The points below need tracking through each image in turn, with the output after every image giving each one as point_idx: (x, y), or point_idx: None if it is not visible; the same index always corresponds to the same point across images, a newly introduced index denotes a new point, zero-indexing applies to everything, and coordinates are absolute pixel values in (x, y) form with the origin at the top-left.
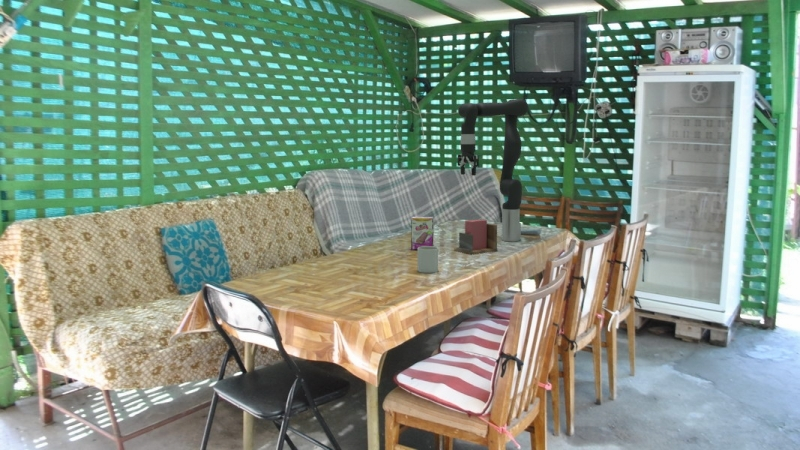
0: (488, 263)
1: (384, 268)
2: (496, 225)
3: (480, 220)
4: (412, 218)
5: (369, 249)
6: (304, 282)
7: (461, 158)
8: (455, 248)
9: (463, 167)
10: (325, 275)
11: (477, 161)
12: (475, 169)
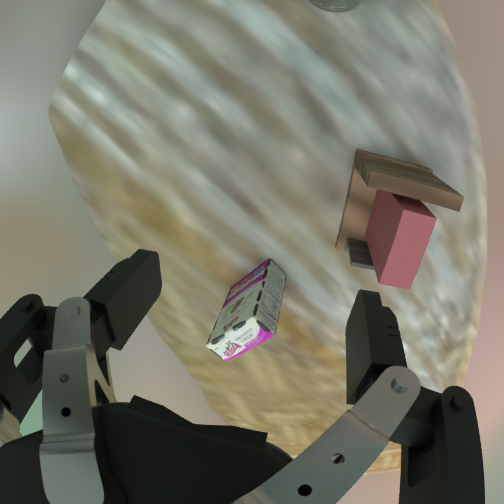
0: (470, 302)
1: (337, 409)
2: (462, 199)
3: (419, 238)
4: (229, 360)
5: (186, 338)
6: None
7: (12, 415)
8: (339, 247)
9: (112, 324)
10: (306, 442)
11: (461, 478)
12: (401, 364)
